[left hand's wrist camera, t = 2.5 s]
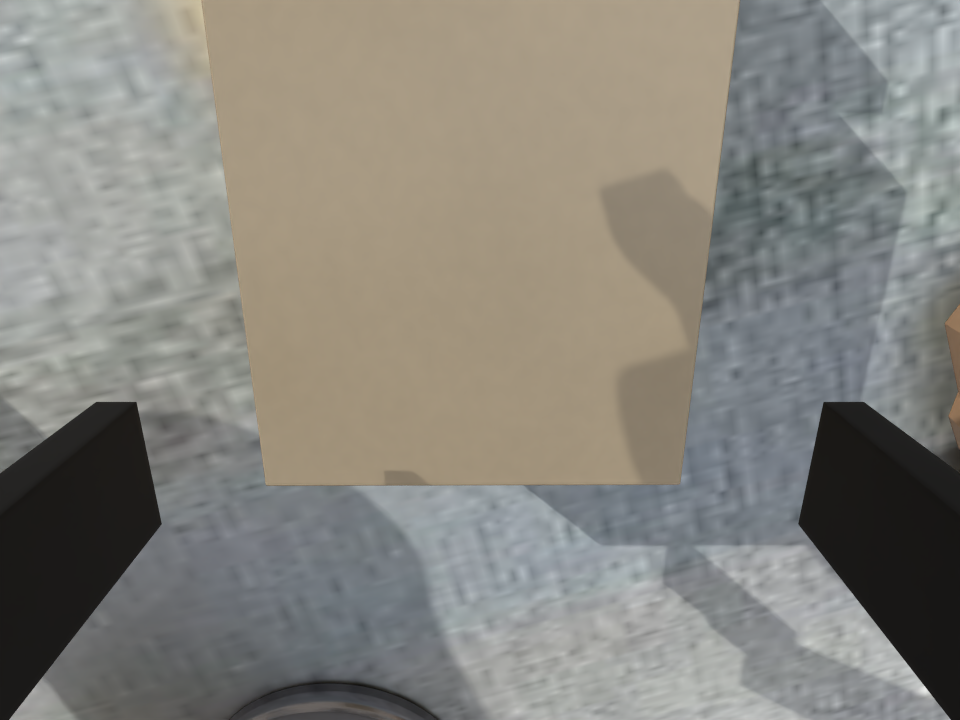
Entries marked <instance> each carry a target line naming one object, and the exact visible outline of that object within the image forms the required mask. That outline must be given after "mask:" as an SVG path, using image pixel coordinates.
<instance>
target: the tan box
mask: <svg viewBox="0 0 960 720" xmlns="http://www.w3.org/2000/svg"><path fill="white" fill-rule="evenodd" d="M739 5H740V0H202V8H203V15H204V23H205V30H206V38H207V45H208V53H209V61H210V68H211V76H212V83H213V91H214V98H215V106H216V113H217V121H218V128H219V136H220V143H221V151H222V158H223V166H224V173H225V181H226V189H227V196H228V204H229V211H230V219H231V226H232V234H233V241H234V249H235V256H236V264H237V271H238V279H239V286H240V294H241V301H242V309H243V316H244V324H245V332H246V339H247V347H248V354H249V362H250V369H251V377H252V384H253V392H254V399H255V407H256V414H257V422H258V429H259V437H260V444H261V452H262V460H263V467H264V475H265V482H266V485H267V486H350V485H679V484H680V480H681V472H682V464H683V456H684V448H685V440H686V432H687V424H688V416H689V408H690V400H691V392H692V384H693V376H694V368H695V360H696V351H697V343H698V335H699V327H700V319H701V311H702V303H703V295H704V287H705V279H706V271H707V263H708V255H709V247H710V239H711V231H712V223H713V215H714V207H715V198H716V190H717V182H718V174H719V166H720V158H721V150H722V142H723V134H724V126H725V118H726V110H727V102H728V94H729V86H730V78H731V70H732V62H733V53H734V45H735V37H736V29H737V21H738V13H739Z"/></svg>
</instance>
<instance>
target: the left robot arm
mask: <svg viewBox="0 0 960 720" xmlns="http://www.w3.org/2000/svg"><path fill="white" fill-rule="evenodd" d="M161 524H162V523H161V519H160V514H159V509H158V504H157V499H156V495H155V490H154V485H153V480H152V475H151V470H150V466H149V461H148V456H147V451H146V446H145V441H144V437H143V432H142V427H141V422H140V417H139V413H138V408H137V403H136V402H96V403H94V404H93V405H92V406H90V407H89V408H88V409H86V410H85V411H84V412H82V413H81V414H80V415H78V416H77V417H76V418H74V419H73V420H71V421H70V422H69V423H67V424H66V425H65V426H63V427H62V428H61V429H59V430H58V431H57V432H55V433H54V434H53V435H51V436H50V437H49V438H47V439H46V440H45V441H43V442H42V443H41V444H39V445H38V446H37V447H35V448H34V449H33V450H31V451H30V452H29V453H27V454H26V455H25V456H23V457H22V458H20V459H19V460H18V461H16V462H15V463H14V464H12V465H11V466H10V467H8V468H7V469H6V470H4V471H3V472H2V473H0V720H9V719H10V718H11V716H12V715H13V714H14V713H15V711H16V710H17V709H18V707H19V706H20V705H21V704H22V702H23V701H24V700H25V698H26V697H27V696H28V695H29V693H30V692H31V691H32V689H33V688H34V687H35V686H36V684H37V683H38V682H39V681H40V679H41V678H42V677H43V675H44V674H45V673H46V672H47V670H48V669H49V668H50V666H51V665H52V664H53V663H54V661H55V660H56V659H57V657H58V656H59V655H60V654H61V652H62V651H63V650H64V648H65V647H66V646H67V645H68V643H69V642H70V641H71V640H72V638H73V637H74V636H75V634H76V633H77V632H78V631H79V629H80V628H81V627H82V625H83V624H84V623H85V622H86V620H87V619H88V618H89V616H90V615H91V614H92V613H93V611H94V610H95V609H96V607H97V606H98V605H99V604H100V602H101V601H102V600H103V599H104V597H105V596H106V595H107V593H108V592H109V591H110V590H111V588H112V587H113V586H114V584H115V583H116V582H117V581H118V579H119V578H120V577H121V575H122V574H123V573H124V572H125V570H126V569H127V568H128V566H129V565H130V564H131V563H132V561H133V560H134V559H135V558H136V556H137V555H138V554H139V552H140V551H141V550H142V549H143V547H144V546H145V545H146V543H147V542H148V541H149V540H150V538H151V537H152V536H153V534H154V533H155V532H156V531H157V529H158V528H159V527H160V525H161ZM798 524H799V525H800V527H801V528H802V529H803V531H804V532H805V533H806V534H807V536H808V537H809V538H810V540H811V541H812V542H813V543H814V545H815V546H816V547H817V549H818V550H819V551H820V552H821V554H822V555H823V556H824V558H825V559H826V560H827V561H828V563H829V564H830V565H831V566H832V568H833V569H834V570H835V572H836V573H837V574H838V575H839V577H840V578H841V579H842V581H843V582H844V583H845V584H846V586H847V587H848V588H849V590H850V591H851V592H852V593H853V595H854V596H855V597H856V599H857V600H858V601H859V602H860V604H861V605H862V606H863V607H864V609H865V610H866V611H867V613H868V614H869V615H870V616H871V618H872V619H873V620H874V622H875V623H876V624H877V625H878V627H879V628H880V629H881V631H882V632H883V633H884V634H885V636H886V637H887V638H888V640H889V641H890V642H891V643H892V645H893V646H894V647H895V648H896V650H897V651H898V652H899V654H900V655H901V656H902V657H903V659H904V660H905V661H906V663H907V664H908V665H909V666H910V668H911V669H912V670H913V672H914V673H915V674H916V675H917V677H918V678H919V679H920V681H921V682H922V683H923V684H924V686H925V687H926V688H927V689H928V691H929V692H930V693H931V695H932V696H933V697H934V698H935V700H936V701H937V702H938V704H939V705H940V706H941V707H942V709H943V710H944V711H945V713H946V714H947V715H948V716H949V718H950V719H951V720H960V473H958V472H957V471H956V470H954V469H953V468H952V467H950V466H949V465H948V464H946V463H945V462H944V461H942V460H941V459H940V458H938V457H937V456H935V455H934V454H933V453H931V452H930V451H929V450H927V449H926V448H925V447H923V446H922V445H921V444H919V443H918V442H917V441H915V440H914V439H913V438H911V437H910V436H909V435H907V434H906V433H905V432H903V431H902V430H901V429H899V428H898V427H897V426H895V425H894V424H893V423H891V422H890V421H889V420H887V419H886V418H884V417H883V416H882V415H880V414H879V413H878V412H876V411H875V410H874V409H872V408H871V407H870V406H868V405H867V404H866V403H864V402H824V403H823V408H822V413H821V417H820V422H819V427H818V432H817V437H816V441H815V446H814V451H813V456H812V461H811V466H810V470H809V475H808V480H807V485H806V490H805V495H804V499H803V504H802V509H801V514H800V519H799V523H798ZM230 720H437V719H435V718H434V717H433V716H432V715H430V714H429V713H427V712H426V711H424V710H423V709H421V708H420V707H418V706H416V705H414V704H413V703H411V702H409V701H407V700H404V699H402V698H400V697H398V696H395V695H392V694H389V693H387V692H384V691H380V690H376V689H373V688H368V687H363V686H357V685H348V684H332V683H329V684H311V685H303V686H297V687H292V688H288V689H284V690H280V691H277V692H274V693H272V694H269V695H266V696H264V697H262V698H260V699H258V700H256V701H254V702H252V703H250V704H249V705H247V706H245V707H244V708H243V709H241V710H240V711H239V712H237V713H236V714H235V715H234V716H233V717H232V718H231V719H230Z"/></svg>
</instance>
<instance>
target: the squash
mask: <svg viewBox="0 0 960 720" xmlns="http://www.w3.org/2000/svg"><path fill="white" fill-rule="evenodd" d="M945 327H946V333H947V338H948V343H949V348H950V353H951V358H952V363H953V368H954V373H955V378H956V383H957V388H958V393H957V396H956V398H955V401H954V404H953V406H952V409H951V411H950V414H949V419H950V423H951V426H952V429H953V432H954V435H955V438H956V442H957V445H958V448H959V450H960V304H959V306H958V307H957V308H956V310H955V311H954V312H953V313H952V315H951V316H950V317H949V319H948V320H947V321H946V322H945Z"/></svg>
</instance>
